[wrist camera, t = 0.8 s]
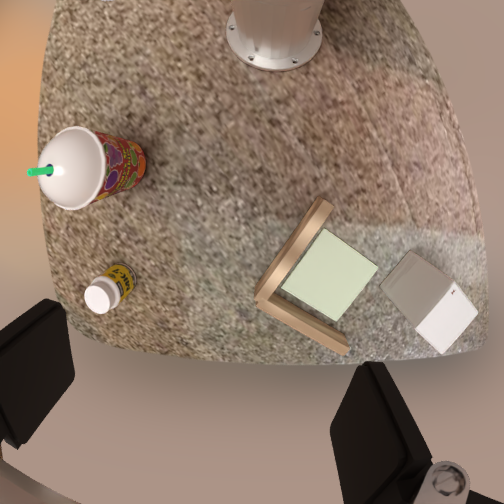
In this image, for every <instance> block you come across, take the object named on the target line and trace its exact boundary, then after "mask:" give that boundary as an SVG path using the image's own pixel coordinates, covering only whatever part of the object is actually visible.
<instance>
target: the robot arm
mask: <svg viewBox="0 0 504 504" xmlns="http://www.w3.org/2000/svg"><path fill="white" fill-rule="evenodd" d="M324 1H325V0H231V3H232V8H233V12H232V13H231V15H230V16H229V19H228V21H227V25H226V37H227V41H228V44H229V46H230V48H231V50H232V51H233V52H234V54H235V55H236V56H237V57H238V58H239V59H240V60H241V61H243V62H244V63H246V64H248V65H249V66H252V67H254V68H257V69H260V70H265V71H273V72H280V71H288V70H292V69H296V68H298V67H300V66H302V65H304V64H305V63H307V62H308V61H310V60H311V59H312V58H313V57H314V56H315V54H316V53H317V51H318V49H319V47H320V45H321V42H322V36H323V35H322V27H321V24H320V21H319V19H318V16H319V14H320V11H321V9H322V6H323V3H324ZM231 29H234V30H231ZM314 34H317V36H316V35H314ZM250 59H253V61H250ZM294 61H295V62H296V64H294V63H293V62H294ZM74 377H75V370H74V365H73V360H72V354H71V348H70V341H69V334H68V327H67V319H66V312H65V309H63V307H62V305H61V303H59V302H56V301H53V300H50V299H43V300H42V301H40V302H39V303H38V304H36V305H35V306H33V307H32V308H31V309H29V310H28V311H26V312H25V313H23V314H22V315H21V316H19V317H18V318H17V319H15V320H14V321H13V322H11V323H10V324H8V325H7V326H6V327H5V328H3V329H2V330H0V504H80V503H78V502H76V501H74V500H72V499H69V498H67V497H65V496H63V495H61V494H59V493H57V492H55V491H53V490H52V489H50V488H48V487H46V486H44V485H42V484H40V483H39V482H37V481H35V480H33V479H32V478H30V477H28V476H27V475H25V474H23V473H22V472H20V471H19V470H17V469H15V468H14V467H12V466H11V465H9V464H8V463H6V462H5V461H4V460H3V455H2V447H1V442H2V440H3V439H4V440H5V441H6V443H8V444H10V445H11V446H13V447H14V448H16V449H17V450H18V449H19V447H20V446H21V444H25V443H27V441H28V440H29V439H30V437H31V436H32V435H33V433H34V432H35V431H36V429H37V428H38V427H39V425H40V424H41V422H42V421H43V420H44V418H45V417H46V416H47V414H48V413H49V412H50V410H51V409H52V408H53V407H54V405H55V404H56V403H57V401H58V400H59V399H60V398H61V396H62V395H63V394H64V392H65V391H66V390H67V389H68V387H69V386H70V385H71V383H72V382H73V380H74ZM330 436H331V441H332V446H333V450H334V455H335V460H336V465H337V470H338V475H339V480H340V486H341V490H342V495H343V501H344V504H504V503H501V502H498V501H496V500H493V499H491V498H488V497H486V496H483V495H481V494H479V493H476V492H474V491H472V490H469V489H470V479H469V476H468V474H467V472H466V471H465V470H464V469H463V468H462V467H461V466H459V465H458V464H456V463H454V462H450V461H441V462H437V463H435V464H434V465H433V463H432V461H431V458H432V455H431V453H430V451H429V449H428V447H427V445H426V442H425V441H424V438H423V436H422V435H421V432H420V431H419V428H418V426H417V424H416V422H415V421H414V419H413V417H412V415H411V413H410V411H409V409H408V407H407V405H406V403H405V401H404V399H403V397H402V396H401V394H400V392H399V390H398V388H397V386H396V385H395V383H394V381H393V379H392V377H391V375H390V373H389V372H388V370H387V368H386V366H385V364H384V363H383V362H372V361H366V362H364V363H363V364H362V365H359V366H358V367H357V369H356V371H355V373H354V376H353V378H352V380H351V382H350V385H349V387H348V389H347V392H346V394H345V396H344V398H343V400H342V402H341V405H340V407H339V409H338V411H337V413H336V415H335V417H334V419H333V421H332V423H331V426H330Z"/></svg>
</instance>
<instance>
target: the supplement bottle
mask: <svg viewBox="0 0 504 504" xmlns="http://www.w3.org/2000/svg"><path fill="white" fill-rule="evenodd" d="M135 285H136V276H135V273H134V272H133V270H132V269H131V268H130V267H129V266H127V265H126V264H123V263H117V264H115V265H113V266H111V267H110V268H109V269H107V270H106V271H104V272H103V273H102V274H100V275H99V276H97V277H96V278H95V279H94V280H93V281H92V283H91V285H90V286H89V287H88V288H87V289H86V291H85V301H86V303H87V305H88V307H89V308H90V309H91V310H92V311H94V312H96V313H99V314H103V313H106V312H107V311H108V310H109V309H112V308H115V307H116V306H117V305H118V304H119V303H120V302H121V301H122V300H123V299H124V298H125V297H126V296H127V295H128V294H129V293H130V292H131V291H132V290H133V289H134V287H135Z"/></svg>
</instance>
